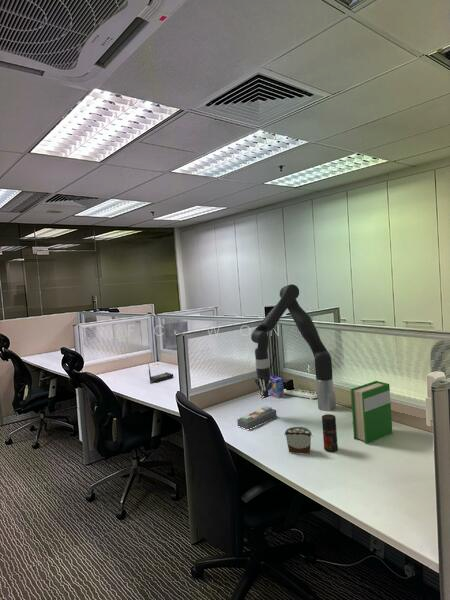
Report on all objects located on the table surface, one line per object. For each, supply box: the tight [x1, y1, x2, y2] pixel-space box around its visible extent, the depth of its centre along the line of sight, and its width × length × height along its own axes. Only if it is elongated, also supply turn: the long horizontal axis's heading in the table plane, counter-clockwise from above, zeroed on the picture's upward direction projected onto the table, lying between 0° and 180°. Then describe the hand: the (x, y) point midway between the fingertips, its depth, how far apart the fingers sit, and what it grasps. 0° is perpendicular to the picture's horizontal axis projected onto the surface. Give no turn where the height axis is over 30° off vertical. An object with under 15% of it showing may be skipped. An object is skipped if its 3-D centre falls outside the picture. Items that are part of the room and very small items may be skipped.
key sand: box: [254, 408, 265, 416], centre depth 213 cm, size 4×4×3 cm
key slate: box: [260, 405, 273, 413], centre depth 216 cm, size 4×4×3 cm
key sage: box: [240, 414, 252, 422], centre depth 206 cm, size 4×4×3 cm
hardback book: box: [350, 380, 393, 445], centre depth 181 cm, size 18×7×24 cm, turn 119°
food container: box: [283, 426, 313, 455], centre depth 174 cm, size 12×6×10 cm, turn 71°
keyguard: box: [236, 408, 278, 430], centre depth 211 cm, size 8×22×4 cm, turn 131°
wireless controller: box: [148, 363, 174, 385], centre depth 314 cm, size 20×14×17 cm
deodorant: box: [321, 413, 339, 453], centre depth 173 cm, size 6×6×15 cm
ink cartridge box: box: [268, 373, 285, 399], centre depth 251 cm, size 10×6×14 cm, turn 29°
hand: (265, 396), depth 215 cm, fingers closed
